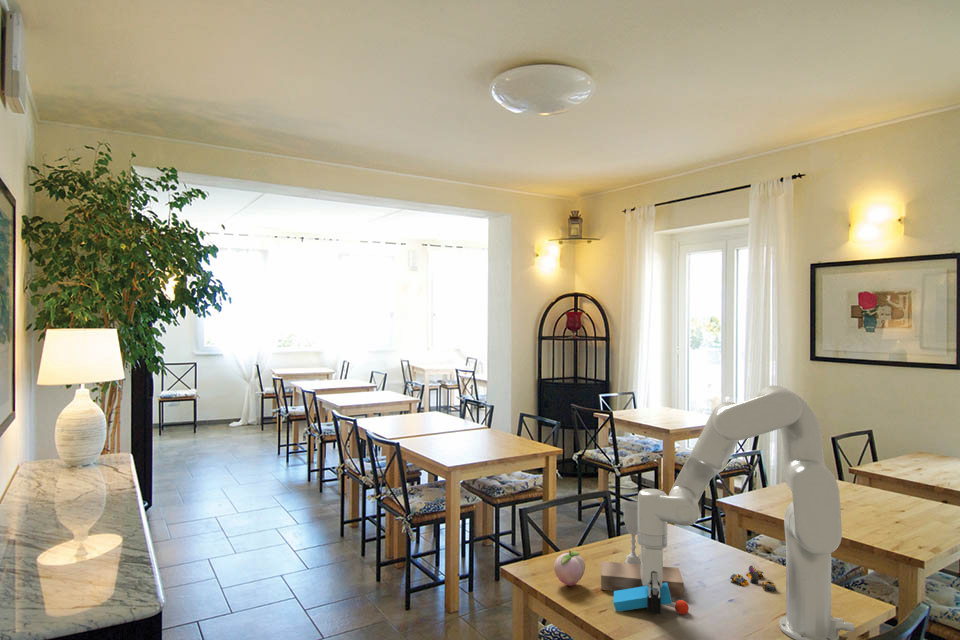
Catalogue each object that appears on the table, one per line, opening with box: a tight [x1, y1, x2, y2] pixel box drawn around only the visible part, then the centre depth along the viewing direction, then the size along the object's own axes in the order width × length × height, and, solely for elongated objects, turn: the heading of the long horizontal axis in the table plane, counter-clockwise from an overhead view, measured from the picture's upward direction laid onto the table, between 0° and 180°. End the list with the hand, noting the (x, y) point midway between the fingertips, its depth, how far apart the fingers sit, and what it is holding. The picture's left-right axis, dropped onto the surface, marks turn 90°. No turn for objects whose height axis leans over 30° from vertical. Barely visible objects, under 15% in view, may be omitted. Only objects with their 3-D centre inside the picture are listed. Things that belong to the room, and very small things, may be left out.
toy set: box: [729, 565, 777, 593], centre depth 165 cm, size 12×11×5 cm
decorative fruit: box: [553, 550, 586, 587], centre depth 164 cm, size 9×8×10 cm
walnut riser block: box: [600, 560, 685, 598], centre depth 164 cm, size 22×10×4 cm, turn 78°
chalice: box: [621, 500, 641, 565], centre depth 180 cm, size 7×7×18 cm
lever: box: [613, 583, 690, 615], centre depth 150 cm, size 7×7×18 cm
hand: (652, 603), depth 150 cm, fingers open, 9 cm apart
